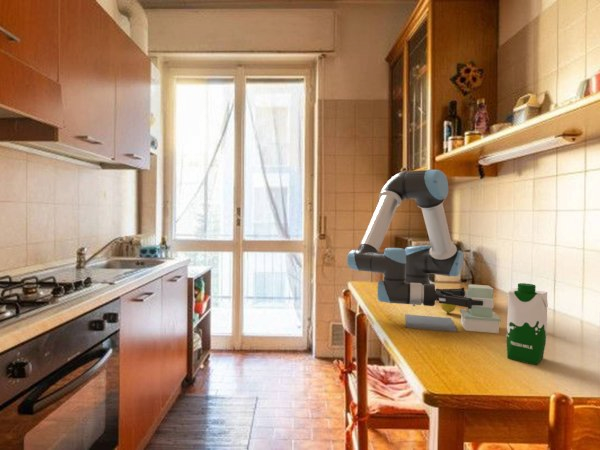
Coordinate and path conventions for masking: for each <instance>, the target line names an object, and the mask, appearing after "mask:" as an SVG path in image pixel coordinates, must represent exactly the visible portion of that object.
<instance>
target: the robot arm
mask: <svg viewBox="0 0 600 450" xmlns="http://www.w3.org/2000/svg"><path fill="white" fill-rule="evenodd" d="M448 195H449V180H448V177H447V176H446V174H445V173H444V172H443V171H442V170H439V169H424V170H422V169H421V170H403V171H400V172H398V173H396V174H395V175H393V176H391V178H390V179H389V180H387V181H386V183H385V184H384V185H383V186H382V188H381V190H380V192H379V194H378V199H379V201H378V203H377V204H376V207H375V210H374V212H373V214H372V216H371V219H370V221H369V223H368V224H367V228H366V230H365V232H364V234H363V237H362V239H361V241H360V243H359V245H358V248H357V249H352V250H350V251H349V252H348V254H347V257H346V264H347V266H348V268H349V269H351V270H354V271H358V272H369V273H374V274H375V273H376V274H383V280H379V281H377V282H378V283H377V291H376V292H377V295H376V296H377V300H378V301H379V302H380V303H388V304H399V305H401V304H402V305H411V306H412V307H416V305H417V306H421V305H423V306H424V307H426V306H427V307H428V306H429V307H434V306H435V304H436V301H438V304H441V303H444V304H451V305H456V307H457V306H458V307H463V308H467V307H468V308H469V309H472V306H474V307H487V308H493V309H494V307H495V299H494V298H493V299H486V298H472V299H471V298H468V289H465V287H460V288H436V286H435V284H434V283H432V284H431V282H430V275H436V276H444V277H458V276H460V274H461V272H462V269H463V265H464V253H463V251H462V250H458V249H457V246H456V244H455V243H453V242H452V238H451V235H450V230H449V226H448V225H449V224H448V221H447V217H446V213H445V212H446V211H445V209H444V202H445V200H446V198H447V197H448ZM405 200H414V201H415V204H416V206H417V207H418V208H420V209H421V212H422V215H423V220H424V224H425V228H426V231H427V235H428V238H429V242H430V245H417V246H416V245H415V246H406V247H405V248H401V247H386V248H384V252H383V251H382V252H381V251H380V249H381V246H382V244H383V241H384V239H385V237H386V234H387V232H388V229H389V227H390V224H391V222H392V220H393V217H394V215H395V213H396V210H397V208H398V207H399V206H401V204H402V202H403V201H405Z"/></svg>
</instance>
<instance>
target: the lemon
mask: <svg viewBox="0 0 600 450" xmlns="http://www.w3.org/2000/svg"><path fill="white" fill-rule="evenodd" d="M440 306H441V309H442V310H443V311H444V312H445V313H447V314H450V313H451V312H454V311H455V310H456V307H457V305H451V304H444V303H440Z"/></svg>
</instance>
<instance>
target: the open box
mask: <svg viewBox="0 0 600 450" xmlns="http://www.w3.org/2000/svg"><path fill="white" fill-rule="evenodd" d="M460 324H461V326H462V327H463V328H464V331H466V332H467V331H469V332H477V333H478V332H479V333H490V334H500V322H499V321H487V320H474V319H465V318H464V317H463V315H462V314H461V313H460Z"/></svg>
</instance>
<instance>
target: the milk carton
mask: <svg viewBox="0 0 600 450" xmlns="http://www.w3.org/2000/svg"><path fill="white" fill-rule="evenodd" d="M536 288H537V287H536V285H535V284H532V283H525V282H523V283H522V282H521V283H518V284H517V287H516V288H512V289H511V290H508V296H507V297H508V298H507V300H508V301H507V316H506V317H507V318H506V321H507V322H506V355H507V356H506V357H507V359H510V360H512V361H513V360H514V361H517V362H518V361H519V362H522V363H526V364H530V365H535V366H538V365H539V363H540V362H541V361H542V360H543V359H544V355H545V354H544V353H545V349H546V342H547V325H548V323H547V322H548V304H549V303H548V291H542V290H536Z"/></svg>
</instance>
